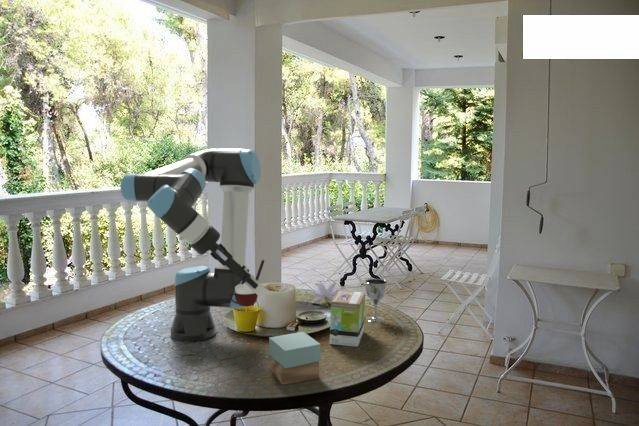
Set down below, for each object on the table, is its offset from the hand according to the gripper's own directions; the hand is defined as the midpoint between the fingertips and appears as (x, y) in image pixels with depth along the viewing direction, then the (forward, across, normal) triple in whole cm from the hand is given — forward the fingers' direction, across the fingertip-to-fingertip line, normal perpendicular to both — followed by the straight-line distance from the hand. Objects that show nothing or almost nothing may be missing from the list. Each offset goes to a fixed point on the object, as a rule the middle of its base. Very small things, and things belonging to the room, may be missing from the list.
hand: (261, 290), depth 140 cm
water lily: (+48, -58, +13) cm, 77 cm away
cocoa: (0, 0, -5) cm, 5 cm away
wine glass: (+55, -34, +20) cm, 68 cm away
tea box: (+43, -20, +7) cm, 48 cm away
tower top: (+21, 0, -7) cm, 23 cm away
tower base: (+25, 0, -11) cm, 27 cm away
